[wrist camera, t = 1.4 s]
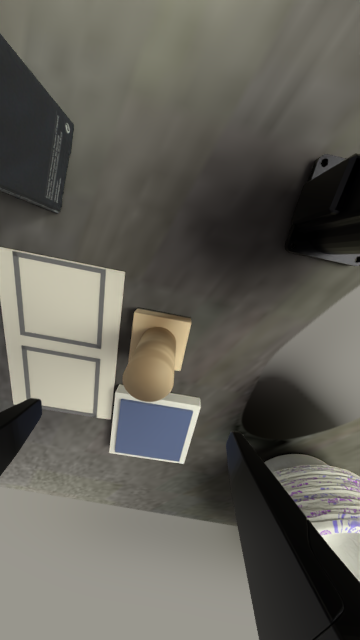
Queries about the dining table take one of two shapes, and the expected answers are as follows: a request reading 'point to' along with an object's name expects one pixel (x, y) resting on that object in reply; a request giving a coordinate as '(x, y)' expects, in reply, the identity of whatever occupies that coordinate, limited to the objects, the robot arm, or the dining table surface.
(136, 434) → the ink pad
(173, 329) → the stamp
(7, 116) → the small box
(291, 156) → the dining table surface
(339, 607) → the robot arm
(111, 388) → the print sheet
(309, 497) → the paper bowls
